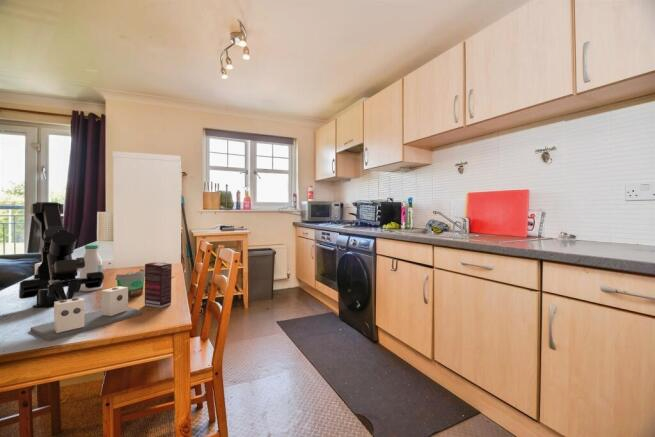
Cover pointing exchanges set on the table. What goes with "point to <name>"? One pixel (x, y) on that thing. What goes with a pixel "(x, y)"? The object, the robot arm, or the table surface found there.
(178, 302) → the table surface
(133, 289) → the food container
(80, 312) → the white block grey domes
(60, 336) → the key mat
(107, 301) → the push button box
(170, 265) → the supplement box
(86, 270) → the milk bottle
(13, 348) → the table surface
